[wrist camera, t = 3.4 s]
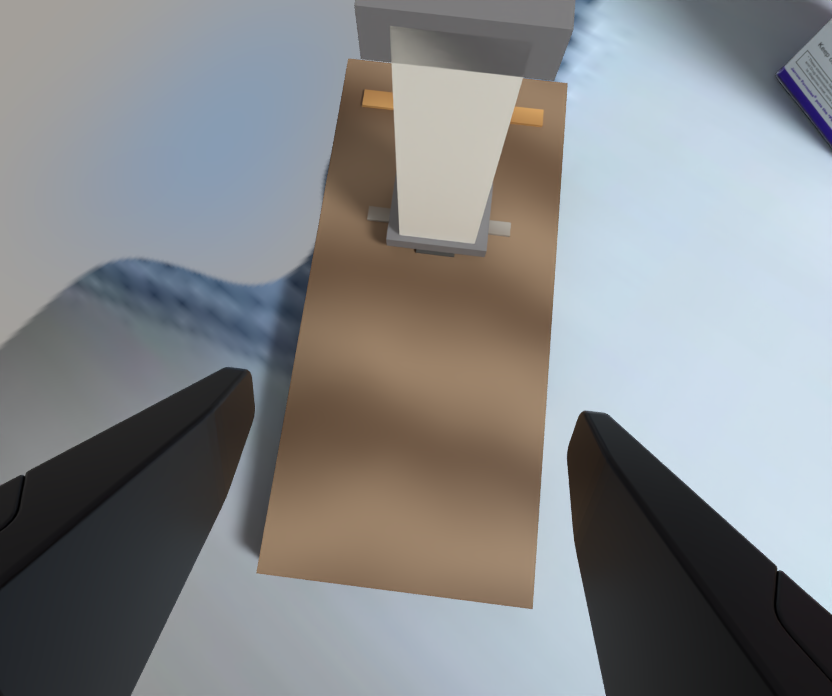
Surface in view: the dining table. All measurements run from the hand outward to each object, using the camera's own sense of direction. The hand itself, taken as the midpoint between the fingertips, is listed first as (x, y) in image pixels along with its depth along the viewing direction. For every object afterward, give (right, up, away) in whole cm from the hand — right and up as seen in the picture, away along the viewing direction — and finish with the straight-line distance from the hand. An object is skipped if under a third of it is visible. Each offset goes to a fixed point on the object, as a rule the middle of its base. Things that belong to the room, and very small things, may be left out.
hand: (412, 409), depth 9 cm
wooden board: (+1, +3, +14) cm, 14 cm away
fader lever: (+1, +6, +12) cm, 14 cm away
